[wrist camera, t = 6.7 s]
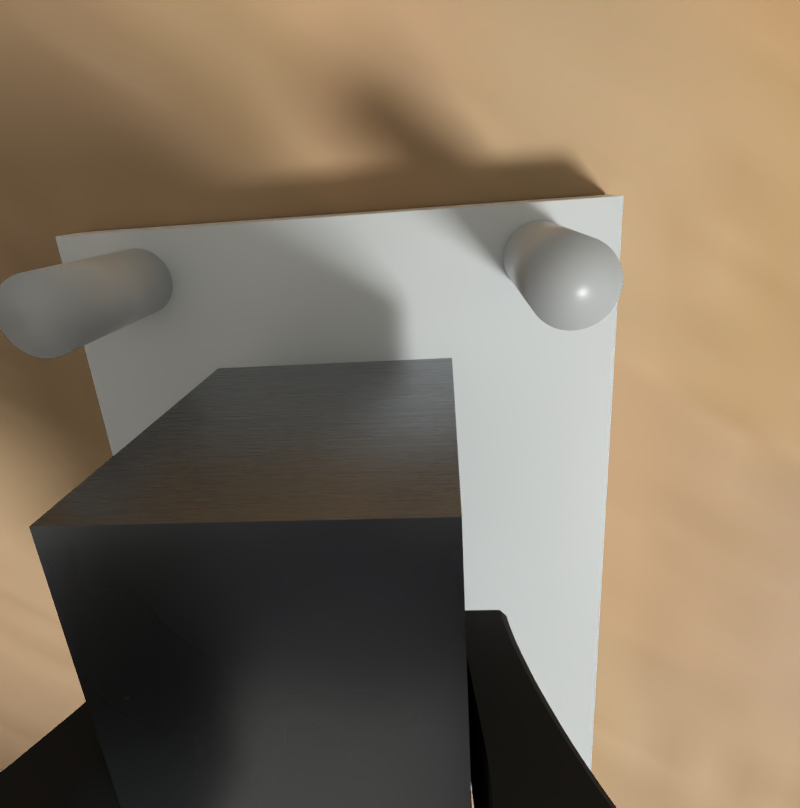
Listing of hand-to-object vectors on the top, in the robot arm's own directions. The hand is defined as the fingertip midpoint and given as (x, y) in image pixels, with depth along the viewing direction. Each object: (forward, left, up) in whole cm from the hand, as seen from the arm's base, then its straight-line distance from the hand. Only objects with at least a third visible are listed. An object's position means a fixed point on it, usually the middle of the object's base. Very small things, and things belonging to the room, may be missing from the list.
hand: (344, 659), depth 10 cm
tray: (0, 0, -4) cm, 4 cm away
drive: (0, 0, -2) cm, 2 cm away
